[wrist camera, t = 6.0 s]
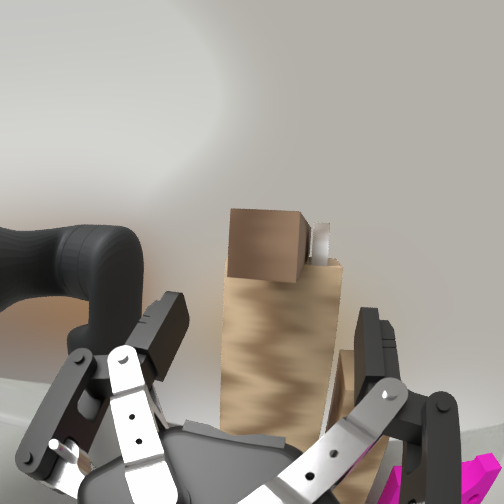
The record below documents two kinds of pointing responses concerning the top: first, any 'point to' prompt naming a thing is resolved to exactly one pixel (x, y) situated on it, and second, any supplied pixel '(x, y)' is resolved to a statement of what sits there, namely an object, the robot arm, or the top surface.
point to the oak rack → (290, 361)
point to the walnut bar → (267, 245)
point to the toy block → (473, 480)
